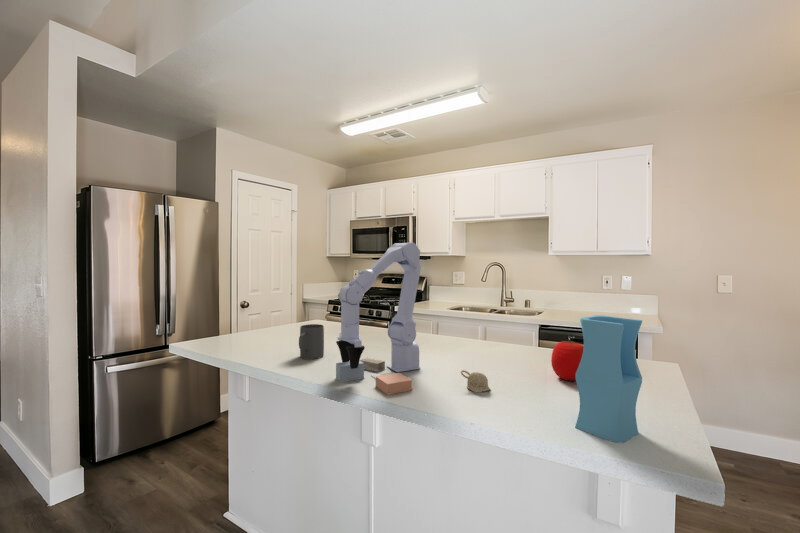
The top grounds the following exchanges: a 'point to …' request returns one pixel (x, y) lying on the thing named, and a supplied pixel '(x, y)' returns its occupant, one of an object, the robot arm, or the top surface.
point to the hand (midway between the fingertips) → (349, 365)
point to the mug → (311, 341)
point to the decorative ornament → (476, 381)
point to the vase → (609, 378)
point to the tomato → (566, 359)
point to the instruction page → (382, 374)
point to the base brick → (393, 383)
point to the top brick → (349, 371)
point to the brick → (373, 364)
